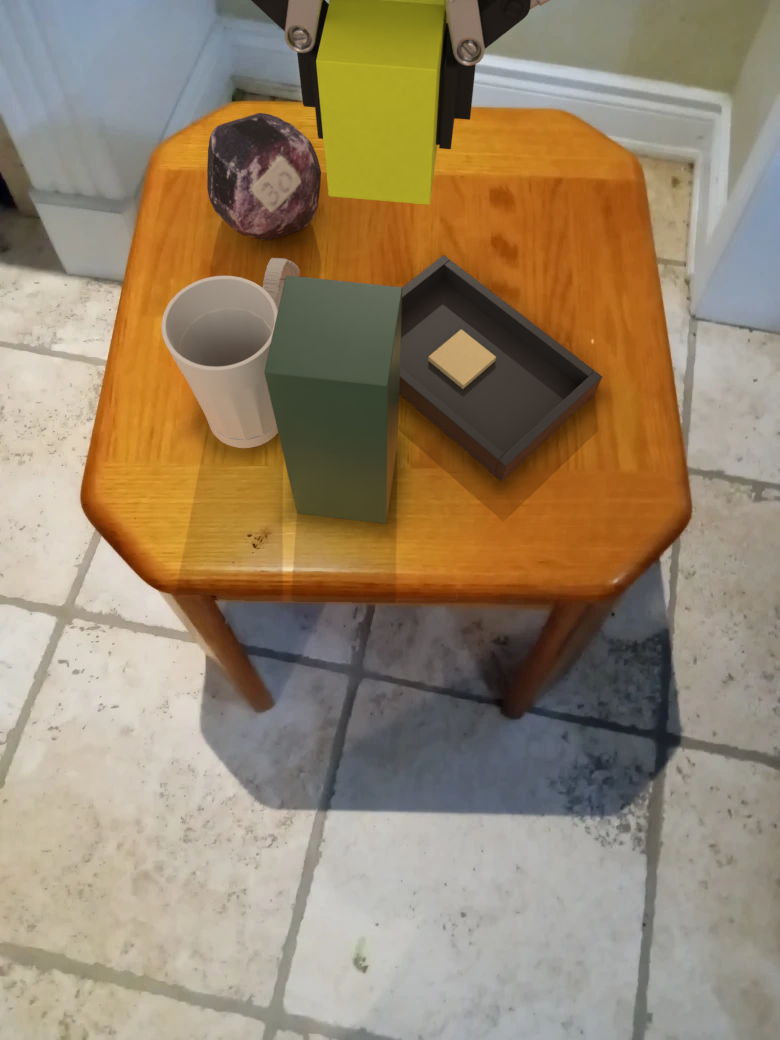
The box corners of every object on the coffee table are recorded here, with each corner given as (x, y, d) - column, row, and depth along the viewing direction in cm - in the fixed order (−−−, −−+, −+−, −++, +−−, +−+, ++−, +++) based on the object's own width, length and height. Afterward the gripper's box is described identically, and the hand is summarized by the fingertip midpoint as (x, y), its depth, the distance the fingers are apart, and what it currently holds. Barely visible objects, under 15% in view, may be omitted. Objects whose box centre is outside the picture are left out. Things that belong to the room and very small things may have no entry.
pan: (595, 394, 68) (602, 376, 65) (501, 482, 64) (506, 466, 62) (441, 274, 73) (443, 254, 70) (347, 350, 69) (346, 331, 67)
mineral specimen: (200, 254, 71) (183, 133, 64) (230, 208, 79) (217, 95, 72) (311, 262, 71) (305, 140, 64) (330, 214, 78) (327, 101, 72)
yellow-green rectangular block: (444, 94, 39) (453, -49, 33) (429, 205, 36) (437, 70, 30) (349, 87, 39) (341, -57, 33) (328, 197, 36) (315, 60, 30)
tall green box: (397, 445, 66) (402, 286, 48) (386, 524, 63) (387, 386, 46) (311, 435, 66) (285, 274, 49) (296, 513, 63) (263, 372, 46)
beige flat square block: (495, 361, 68) (496, 356, 68) (462, 389, 67) (463, 385, 67) (460, 333, 70) (461, 328, 69) (427, 360, 68) (428, 356, 68)
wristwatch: (303, 290, 72) (298, 249, 67) (289, 335, 70) (282, 297, 65) (271, 284, 72) (264, 244, 68) (256, 329, 70) (247, 291, 66)
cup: (266, 471, 65) (242, 387, 54) (179, 434, 66) (138, 344, 55) (312, 394, 68) (298, 298, 57) (228, 360, 69) (199, 260, 58)
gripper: (731, -569, 21) (580, 79, 37) (85, -593, 22) (218, 51, 38) (751, -445, 18) (577, 201, 34) (-4, -478, 19) (183, 168, 35)
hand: (388, 118), depth 36 cm, fingers closed on yellow-green rectangular block, 4 cm apart
